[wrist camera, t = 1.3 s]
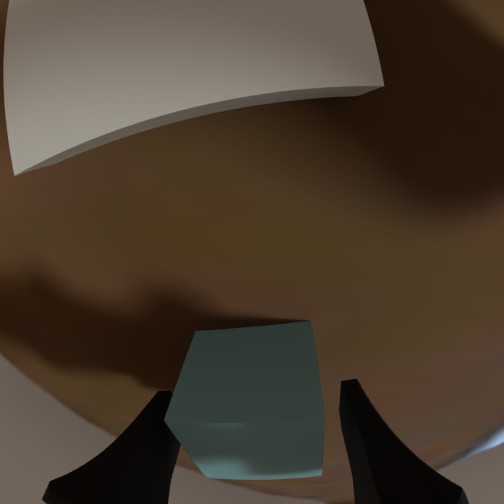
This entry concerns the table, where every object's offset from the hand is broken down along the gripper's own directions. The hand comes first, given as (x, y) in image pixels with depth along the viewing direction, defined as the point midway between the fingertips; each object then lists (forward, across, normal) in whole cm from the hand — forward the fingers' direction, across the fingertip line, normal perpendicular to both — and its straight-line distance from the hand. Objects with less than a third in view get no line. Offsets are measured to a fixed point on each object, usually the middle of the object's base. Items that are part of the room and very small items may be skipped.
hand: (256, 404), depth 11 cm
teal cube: (+2, 0, 0) cm, 2 cm away
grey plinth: (+3, +1, -17) cm, 17 cm away
